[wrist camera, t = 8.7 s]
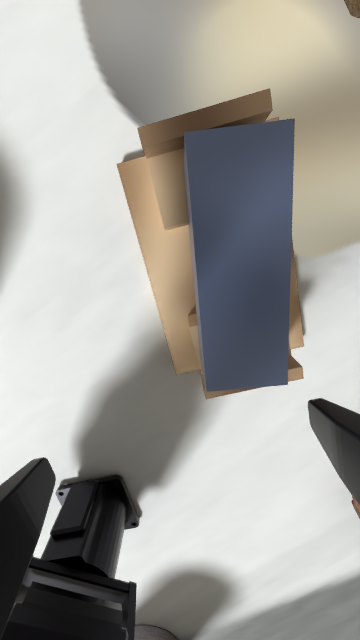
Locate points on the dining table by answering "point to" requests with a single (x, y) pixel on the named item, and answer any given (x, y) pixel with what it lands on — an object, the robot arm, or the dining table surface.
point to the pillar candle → (152, 633)
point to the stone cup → (353, 7)
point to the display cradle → (186, 226)
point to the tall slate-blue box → (241, 250)
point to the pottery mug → (356, 506)
